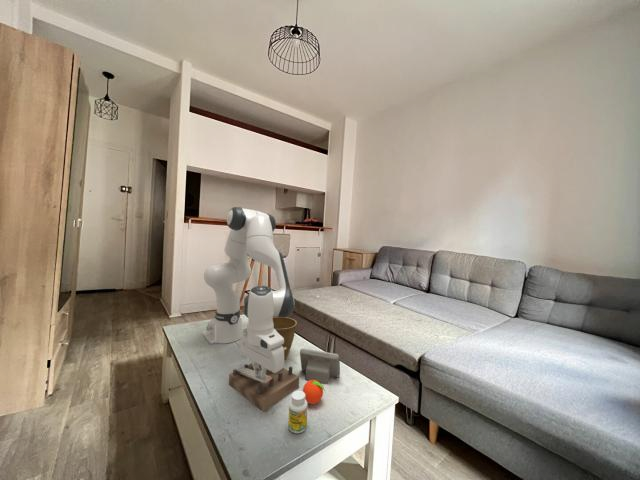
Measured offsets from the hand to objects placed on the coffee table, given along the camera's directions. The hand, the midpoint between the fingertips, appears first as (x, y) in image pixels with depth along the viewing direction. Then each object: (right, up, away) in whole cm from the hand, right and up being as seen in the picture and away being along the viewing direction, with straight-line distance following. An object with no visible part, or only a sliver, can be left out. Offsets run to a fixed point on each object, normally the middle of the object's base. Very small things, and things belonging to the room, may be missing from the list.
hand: (259, 375), depth 83 cm
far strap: (+2, +2, +10) cm, 10 cm away
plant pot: (+2, -7, +26) cm, 27 cm away
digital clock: (+20, -8, +13) cm, 26 cm away
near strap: (-3, -2, +2) cm, 4 cm away
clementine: (+19, -9, -1) cm, 20 cm away
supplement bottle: (+14, -9, -12) cm, 20 cm away
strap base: (0, -7, +6) cm, 9 cm away
